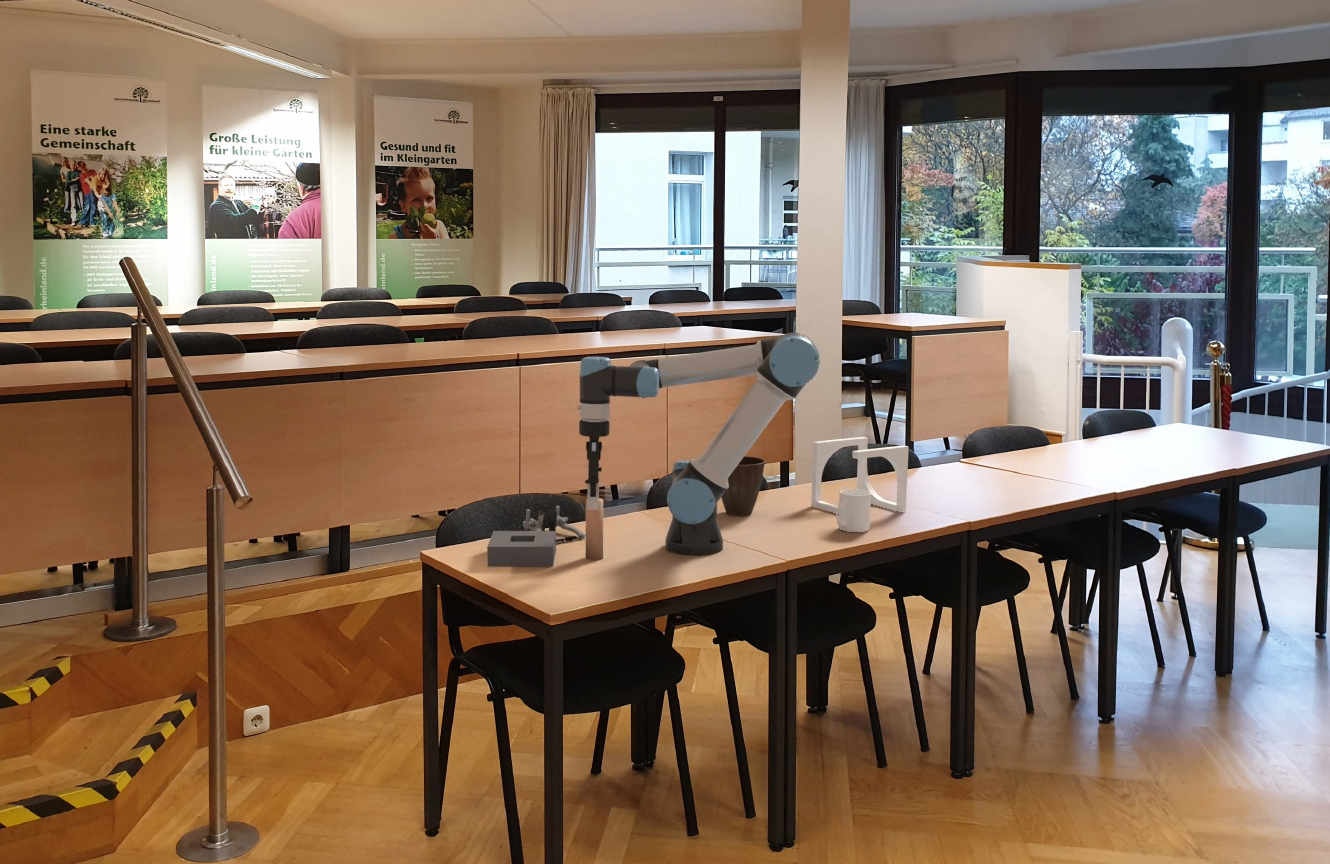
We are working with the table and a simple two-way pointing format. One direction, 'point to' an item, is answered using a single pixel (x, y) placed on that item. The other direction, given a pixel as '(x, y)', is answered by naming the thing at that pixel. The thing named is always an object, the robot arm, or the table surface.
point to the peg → (594, 532)
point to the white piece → (860, 470)
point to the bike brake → (552, 524)
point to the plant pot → (743, 486)
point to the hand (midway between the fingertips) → (593, 503)
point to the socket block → (521, 549)
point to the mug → (854, 510)
